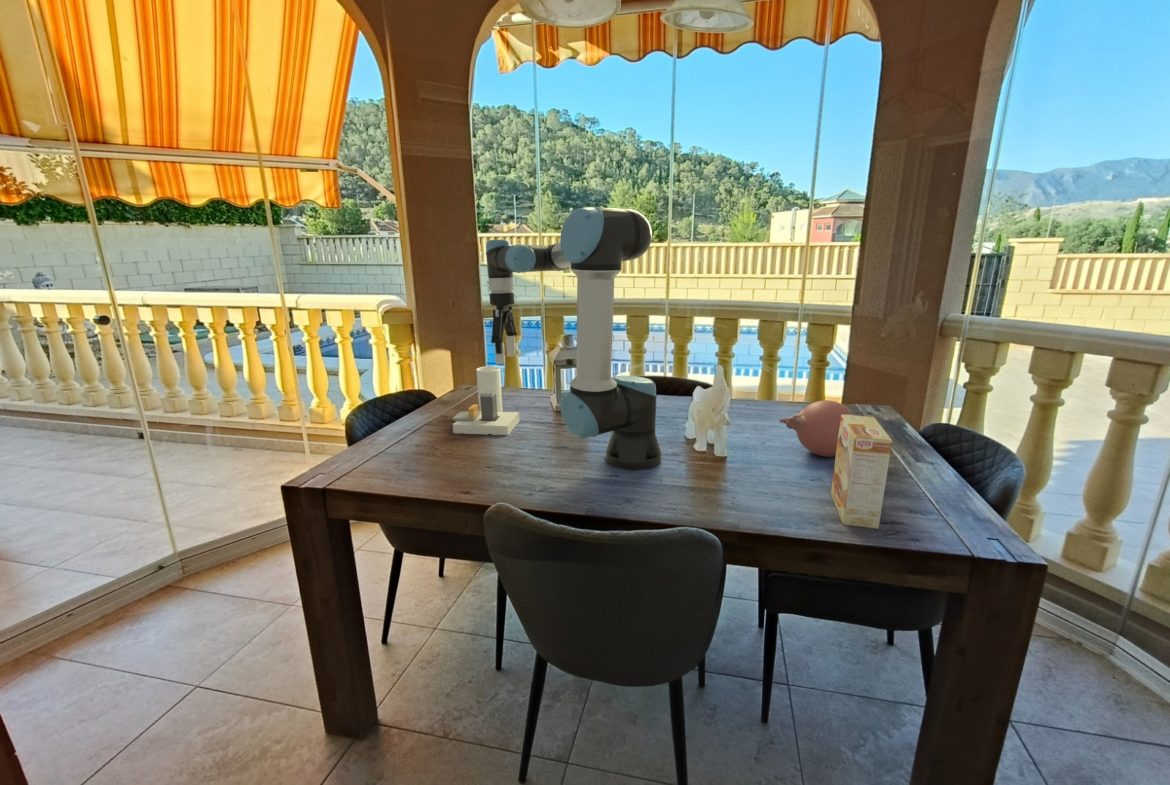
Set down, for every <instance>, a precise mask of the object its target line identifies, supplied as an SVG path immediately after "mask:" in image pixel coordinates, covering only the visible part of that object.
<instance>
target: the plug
mask: <svg viewBox="0 0 1170 785" xmlns="http://www.w3.org/2000/svg"><path fill="white" fill-rule="evenodd" d="M480 401H481V415H482V421H496V420H497V419H498V416H497V401H496V391H495V390H484V391H482V392H481V393H480Z"/></svg>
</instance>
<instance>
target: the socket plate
mask: <svg viewBox="0 0 1170 785" xmlns="http://www.w3.org/2000/svg"><path fill="white" fill-rule="evenodd" d="M478 412H480V415H479V416H478V417H477V418H476V419H475V420H474V421H455V422H454V423H452V432H453V433H452V434H460V435H461V434H462V433H463V434H464V435H467V434H468V435H488V434H492V435H494V436H499V435H500V436H509V435H508V434H510V433H511V432H512V431H513V430H512V429H514V428H515V427H516V426H517V425H518V423H520V412H518V411H517V412H515V411H513V412H512V411H502V412H497V416H498V419H497V420H496V421H482V415H481V411H479V410H478ZM516 424H517V425H516Z"/></svg>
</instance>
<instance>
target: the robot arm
mask: <svg viewBox="0 0 1170 785" xmlns="http://www.w3.org/2000/svg"><path fill="white" fill-rule="evenodd" d="M652 234H653V231H652V227H651V224H650V223H649V220H648V219H647V218H646V217H645V216H644V215H643V214H642V213H640V212H638V211H637V210H634V209H631V208H630V209H628V208H612V207H611V208H609V207H600V206H599V207H596V206H592V207H591V206H589V207H579V208H576V209H574V210H573V211H572V212H570V213H569V214H568V216H567V218H566V219H565V221H564V222H563V224H562V228H561V231H560V239H559V242H556V243H553V244H548V245H547V244H546V245H545V244H543V245H542V244H541V245H536V244H535V245H532V244H530V245H525V244H514V245H512V243H511V240H509V239H490V240H487V242H486V243H485V250H486V251H485V256H486V263H487V265H486V266H487V278H488V280H487V281H486V284H487V285H488V288H489V289H488V290H489V291H490V294H488V295H489V304H490V305H491V306H493V307H494V306H496V309H492V331H491V340H490V343H491V344H493V346H494V357H495V359H494V360H495V364H496V365H505V364H506V358H505V347H506V356H507V357H508V356H509V357H514V356H516V342H515V341H516V340H515V336H517V335H518V333H517V330H516V326H515V324H516V323H515V320H514V314H513V305H515V303H516V302H515V293H514V292H513V291H514V290H515V287H514V273H517V274H520V273H521V274H523V273H530V272H531V273H532V272H534V273H535V272H562V271H567V270H569V269H570V271H571V272H573V273H572V274H574V275H575V276H576V278H577V283H576V286H577V287H576V288H577V289H576V292H577V293H576V367H575V368H576V372H575V373H576V374H575V375H576V376H575V377H574V378H573V379H572V380H571V381H570V382H569V384H570V385H569V392H568V393H566V394H565V395H564V394H563V396H562V398H561V399H560V406H559V408H560V414H561V418H562V421H563V423H564V424H565V426H566V428H567V430H568V431H569V432H570V433H571V434H572V435H574V437H577V438H580V439H587V438H596V437H598V436H599V435H603V434H606V433H607V434H608V433H611V435H610V438H609V440H608V444H607V447H606V450H605V461H606V463H608V465H610V466H612V467H615V468H617V469H622V470H628V471H643V470H648V469H651V468H654V467H657V466H658V465H660V464H661V461H662V451H661V448H660V444H659V441H658V439H657V435H656V434H657V433H656V421H657V420H656V418H657V415H656V414H657V397H658V395H657V387H656V383H655V382H654V381H653V380H652V379H650V378H646V377H642V376H636V375H625V374H624V375H615V376H613V377H612V364H613V363H612V362H613V361H612V360H613V359H612V358H613V354H612V353H613V333H614V332H613V330H614V302H615V300H614V298H615V278H616V277H617V276H618V275H619V274H620V273H621V272H622V262H626V261H633V260H636V259H638V258H640V257H641V256H643V255H645V253H646V252H647V251H648V250H649V248H650V246H651V242H652V238H653V235H652ZM504 332H505V333H506V336H505V342H506V346H505V345H504V344H505V343H504V342H503V341H504Z"/></svg>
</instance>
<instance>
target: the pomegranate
mask: <svg viewBox="0 0 1170 785" xmlns="http://www.w3.org/2000/svg"><path fill="white" fill-rule="evenodd" d="M841 415H855V414H854V413H853V411H852V410H850V409H849V408H848V407H847V406H846V405H844V404H843V403H841V402H838V401H835V400H829V399H828V400H823V399H822V400H818V401H815V402H812V403H810V404H808V405H806V406H805V407H804V408H803V410H800V411H799V412H798V413H796V414H794V415H792V416H790V417H784V418H780V419H779V422H780V423H781V424H785V426H786V427H787V428H788V429H790V430H794V431H795V433H796V436H797V438H798V440H799V442H800V444H801V446H803V447H804V448H805V449H806V450H807V451H809V453H812V454H814V455H816V456H818V457H819V456H821V457H828V458H829V457H830V458H831V457H836V450H837V442H838V434H839V426H840V418H841Z"/></svg>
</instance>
